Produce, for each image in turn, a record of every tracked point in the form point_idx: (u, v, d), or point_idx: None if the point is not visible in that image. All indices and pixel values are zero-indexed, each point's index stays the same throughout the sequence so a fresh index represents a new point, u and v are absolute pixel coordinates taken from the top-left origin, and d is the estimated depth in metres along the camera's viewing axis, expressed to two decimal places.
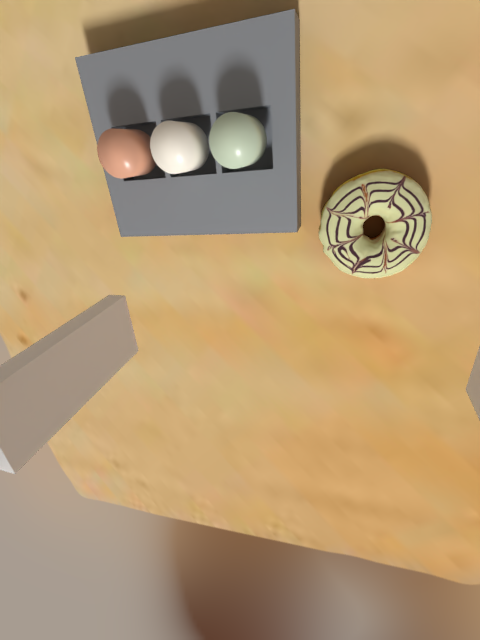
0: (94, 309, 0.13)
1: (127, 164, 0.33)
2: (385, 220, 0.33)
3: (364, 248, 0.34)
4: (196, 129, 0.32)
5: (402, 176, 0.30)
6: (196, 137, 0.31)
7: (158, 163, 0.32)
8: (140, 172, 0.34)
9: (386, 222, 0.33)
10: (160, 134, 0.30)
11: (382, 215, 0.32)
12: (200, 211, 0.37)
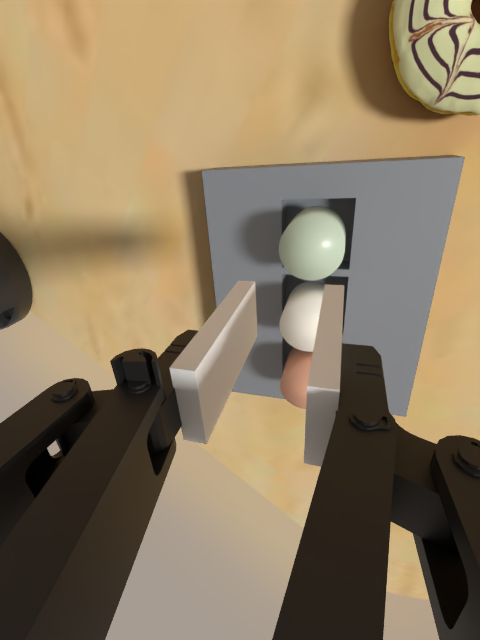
0: (236, 293, 0.13)
1: None
2: None
3: None
4: (294, 292, 0.27)
5: None
6: (301, 294, 0.25)
7: None
8: None
9: None
10: (292, 335, 0.26)
11: None
12: (394, 307, 0.27)
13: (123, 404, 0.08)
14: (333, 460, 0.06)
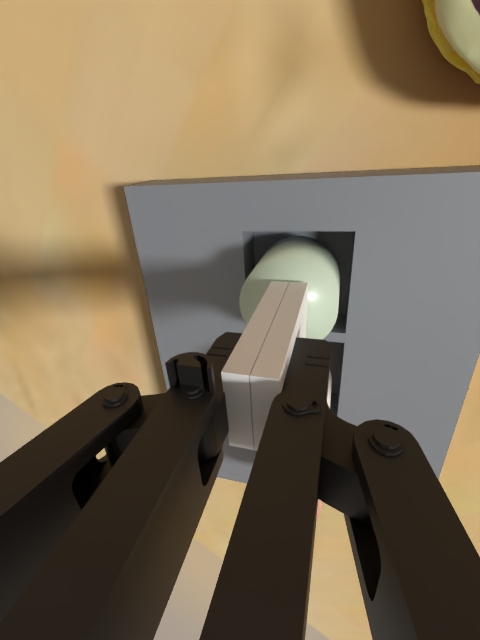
0: (272, 294, 0.13)
1: None
2: None
3: None
4: None
5: None
6: None
7: None
8: None
9: None
10: None
11: None
12: (412, 387, 0.18)
13: (175, 409, 0.08)
14: (267, 446, 0.07)
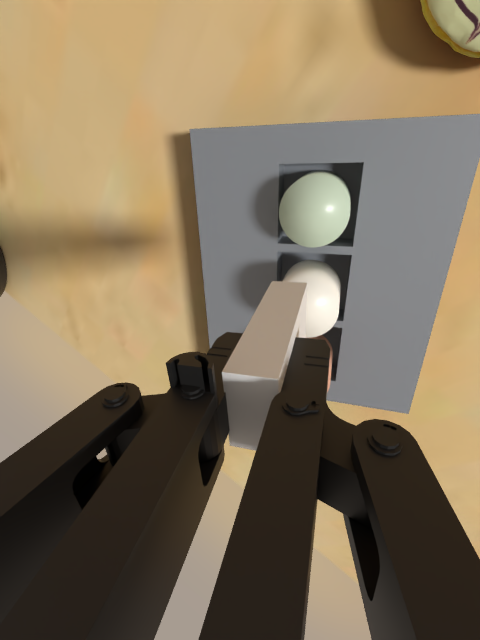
0: (273, 294, 0.13)
1: None
2: None
3: None
4: (291, 271, 0.24)
5: None
6: (298, 272, 0.23)
7: (320, 332, 0.23)
8: None
9: None
10: None
11: None
12: (401, 290, 0.24)
13: (176, 409, 0.08)
14: (266, 446, 0.07)
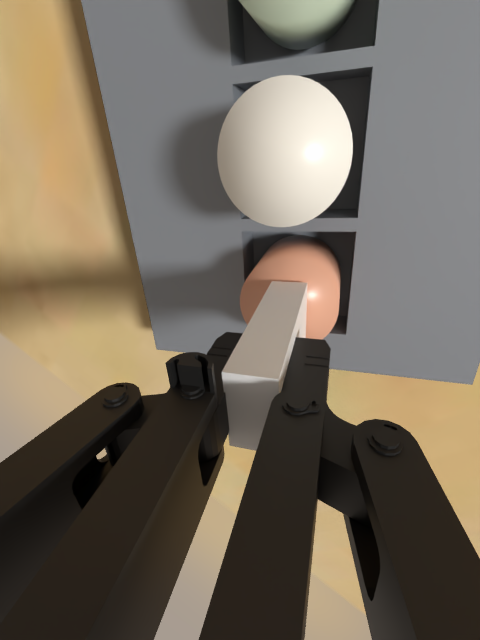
0: (273, 294, 0.13)
1: (310, 287, 0.14)
2: None
3: None
4: None
5: None
6: None
7: (315, 210, 0.11)
8: (333, 270, 0.15)
9: None
10: (246, 188, 0.11)
11: None
12: (472, 135, 0.12)
13: (176, 409, 0.08)
14: (267, 446, 0.07)
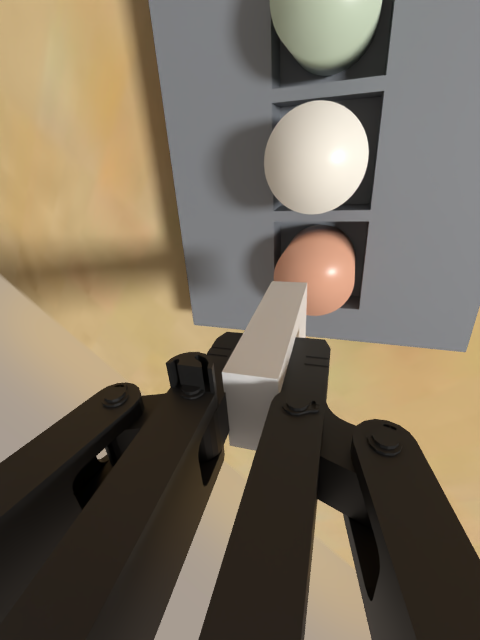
0: (273, 294, 0.13)
1: (332, 264, 0.18)
2: None
3: None
4: None
5: None
6: None
7: (338, 200, 0.15)
8: (350, 252, 0.19)
9: None
10: (285, 184, 0.15)
11: None
12: (462, 144, 0.16)
13: (176, 409, 0.08)
14: (266, 446, 0.07)
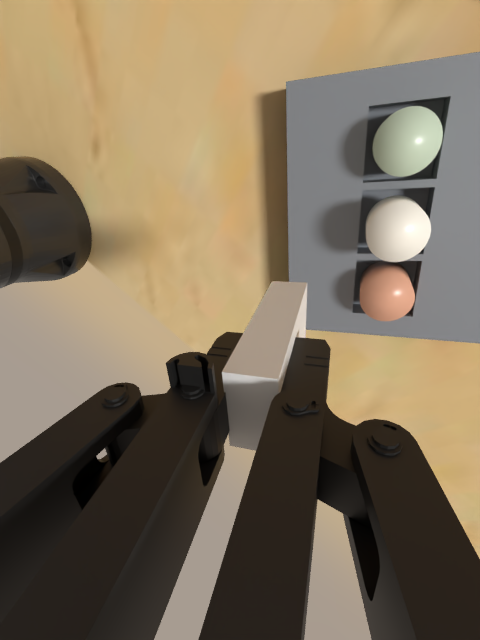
0: (273, 294, 0.13)
1: (400, 288, 0.28)
2: None
3: None
4: (378, 205, 0.26)
5: None
6: (389, 202, 0.25)
7: (411, 255, 0.25)
8: (409, 280, 0.29)
9: None
10: (378, 245, 0.25)
11: None
12: None
13: (176, 409, 0.08)
14: (266, 446, 0.07)
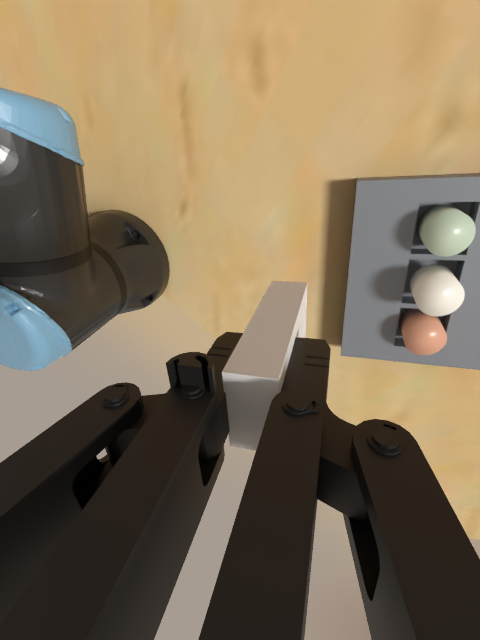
0: (273, 294, 0.13)
1: (436, 332, 0.37)
2: None
3: None
4: (422, 272, 0.36)
5: None
6: (433, 273, 0.34)
7: (448, 312, 0.34)
8: None
9: None
10: (424, 304, 0.35)
11: None
12: None
13: (176, 409, 0.08)
14: (266, 446, 0.07)
